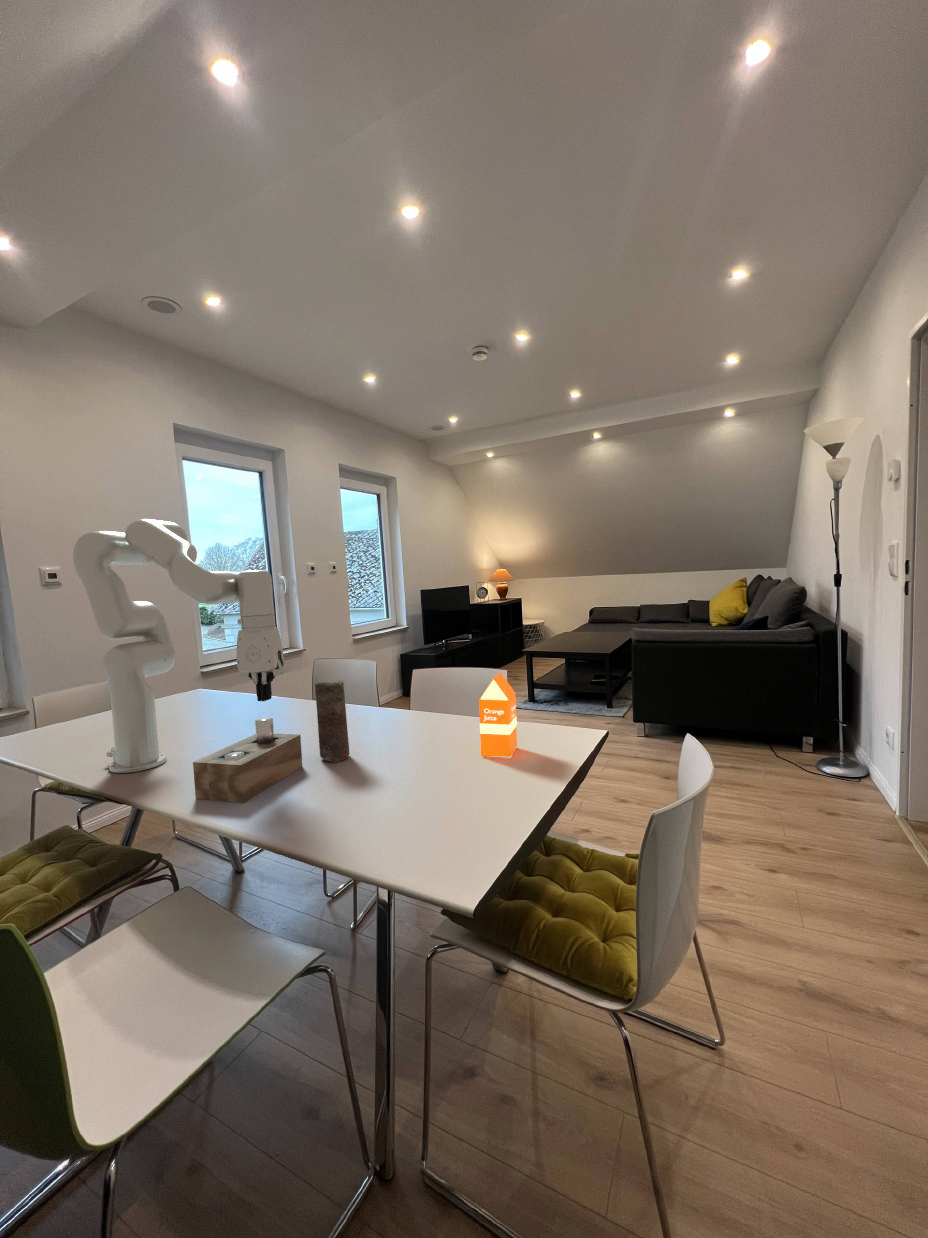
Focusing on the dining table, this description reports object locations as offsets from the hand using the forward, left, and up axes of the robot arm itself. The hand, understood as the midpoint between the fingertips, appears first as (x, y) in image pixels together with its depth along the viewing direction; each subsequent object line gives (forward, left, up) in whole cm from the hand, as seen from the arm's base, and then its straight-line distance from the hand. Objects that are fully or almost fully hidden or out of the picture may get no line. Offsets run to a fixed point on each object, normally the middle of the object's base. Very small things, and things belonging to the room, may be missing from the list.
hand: (264, 699), depth 127 cm
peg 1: (-1, -11, -18) cm, 21 cm away
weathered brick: (+10, +12, -18) cm, 24 cm away
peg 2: (-1, 0, -13) cm, 13 cm away
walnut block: (-1, -6, -18) cm, 19 cm away
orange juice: (+51, +23, -18) cm, 59 cm away
